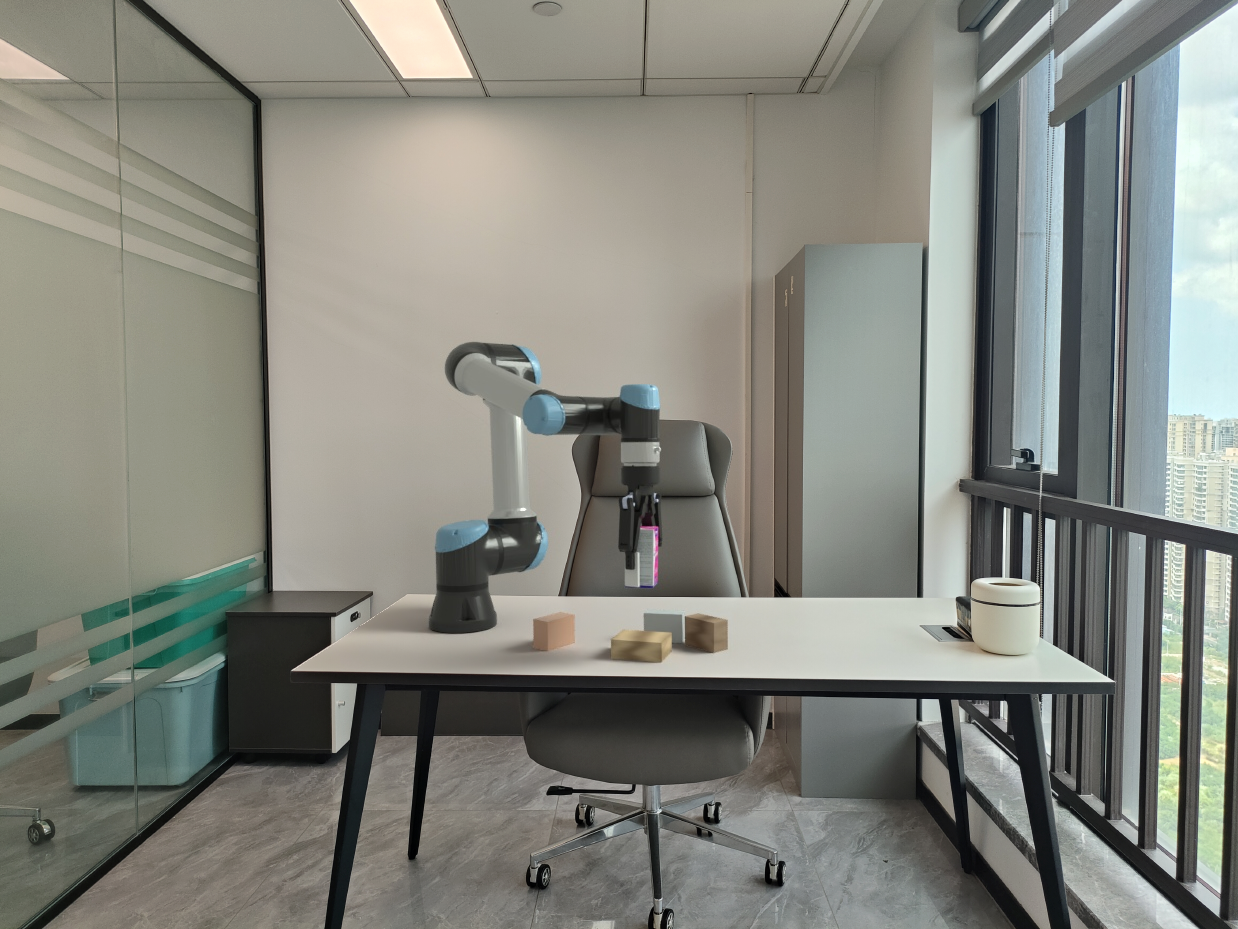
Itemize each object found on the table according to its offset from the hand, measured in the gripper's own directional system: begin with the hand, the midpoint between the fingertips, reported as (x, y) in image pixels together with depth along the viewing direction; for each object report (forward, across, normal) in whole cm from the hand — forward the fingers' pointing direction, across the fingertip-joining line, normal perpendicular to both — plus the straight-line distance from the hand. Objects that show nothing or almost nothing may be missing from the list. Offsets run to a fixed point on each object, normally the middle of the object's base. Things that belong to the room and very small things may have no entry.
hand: (641, 582), depth 151 cm
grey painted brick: (+14, +12, +1) cm, 19 cm away
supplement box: (+1, 0, 0) cm, 1 cm away
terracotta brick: (+14, -2, +19) cm, 24 cm away
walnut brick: (+14, +11, -9) cm, 20 cm away
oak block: (+14, 0, 0) cm, 14 cm away
